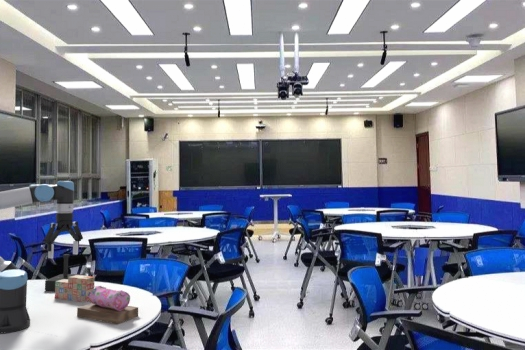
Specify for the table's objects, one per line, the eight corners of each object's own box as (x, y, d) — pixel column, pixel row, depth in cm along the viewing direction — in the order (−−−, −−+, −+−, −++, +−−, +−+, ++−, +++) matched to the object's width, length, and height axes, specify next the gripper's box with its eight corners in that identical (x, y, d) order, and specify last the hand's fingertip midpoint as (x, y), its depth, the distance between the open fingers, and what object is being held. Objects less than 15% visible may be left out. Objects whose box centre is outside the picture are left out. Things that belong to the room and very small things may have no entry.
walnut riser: (117, 324, 172) (117, 315, 172) (77, 316, 183) (77, 307, 183) (138, 316, 184) (138, 307, 184) (99, 309, 195) (99, 300, 195)
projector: (72, 291, 229) (73, 257, 230) (44, 291, 229) (45, 257, 230) (86, 284, 248) (87, 252, 249) (60, 284, 248) (61, 252, 249)
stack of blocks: (54, 298, 214) (55, 275, 215) (63, 295, 220) (64, 273, 221) (85, 302, 207) (86, 278, 208) (94, 299, 213) (94, 276, 214)
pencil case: (86, 305, 186) (87, 286, 187) (104, 301, 194) (104, 283, 194) (113, 313, 174) (114, 293, 174) (131, 309, 182) (131, 289, 182)
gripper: (46, 213, 179) (44, 260, 178) (91, 211, 202) (89, 253, 201) (35, 213, 182) (33, 259, 181) (80, 211, 205) (79, 252, 204)
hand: (63, 256), depth 191 cm, fingers open, 13 cm apart
